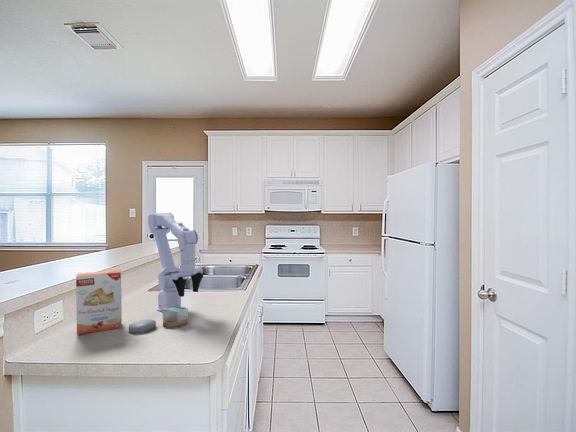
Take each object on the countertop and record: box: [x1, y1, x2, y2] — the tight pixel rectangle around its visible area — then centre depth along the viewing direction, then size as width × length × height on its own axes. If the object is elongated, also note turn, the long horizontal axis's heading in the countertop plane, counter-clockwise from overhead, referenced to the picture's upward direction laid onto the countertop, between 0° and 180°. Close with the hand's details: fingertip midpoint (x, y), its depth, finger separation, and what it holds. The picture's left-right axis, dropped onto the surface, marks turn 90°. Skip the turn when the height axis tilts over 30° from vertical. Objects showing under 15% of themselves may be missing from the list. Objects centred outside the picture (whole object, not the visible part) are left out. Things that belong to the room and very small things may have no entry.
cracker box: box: [75, 269, 123, 335], centre depth 115 cm, size 14×6×21 cm, turn 117°
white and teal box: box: [161, 306, 189, 323], centre depth 119 cm, size 8×5×4 cm, turn 62°
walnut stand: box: [162, 318, 189, 329], centre depth 119 cm, size 9×9×2 cm
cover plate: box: [168, 307, 183, 311], centre depth 119 cm, size 6×3×1 cm, turn 62°
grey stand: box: [128, 319, 157, 334], centre depth 115 cm, size 9×9×2 cm
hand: (188, 293), depth 127 cm, fingers open, 7 cm apart
